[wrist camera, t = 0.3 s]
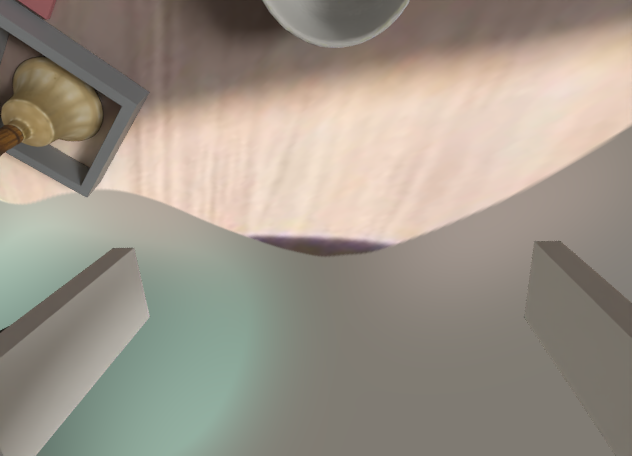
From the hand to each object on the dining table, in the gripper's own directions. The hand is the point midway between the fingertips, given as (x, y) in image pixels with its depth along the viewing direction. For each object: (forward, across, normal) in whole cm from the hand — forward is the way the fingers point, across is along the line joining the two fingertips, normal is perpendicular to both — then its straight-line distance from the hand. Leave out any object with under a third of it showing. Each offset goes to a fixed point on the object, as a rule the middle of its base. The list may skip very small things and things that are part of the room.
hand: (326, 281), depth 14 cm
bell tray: (+28, -27, +5) cm, 39 cm away
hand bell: (+28, -27, +5) cm, 40 cm away
